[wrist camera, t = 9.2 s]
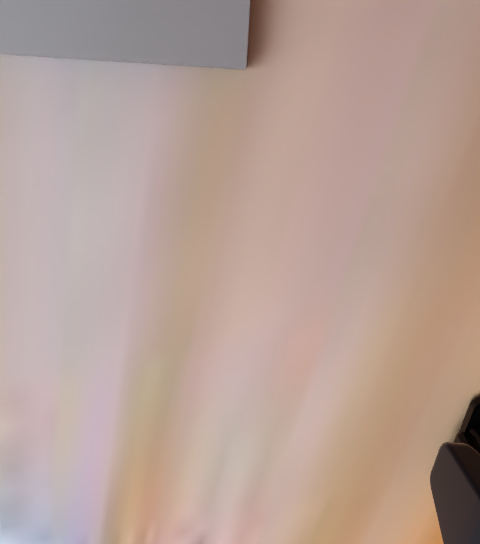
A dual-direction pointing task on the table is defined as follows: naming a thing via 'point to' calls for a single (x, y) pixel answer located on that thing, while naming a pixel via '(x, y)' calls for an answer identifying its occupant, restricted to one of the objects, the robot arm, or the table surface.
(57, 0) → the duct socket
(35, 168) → the table surface
